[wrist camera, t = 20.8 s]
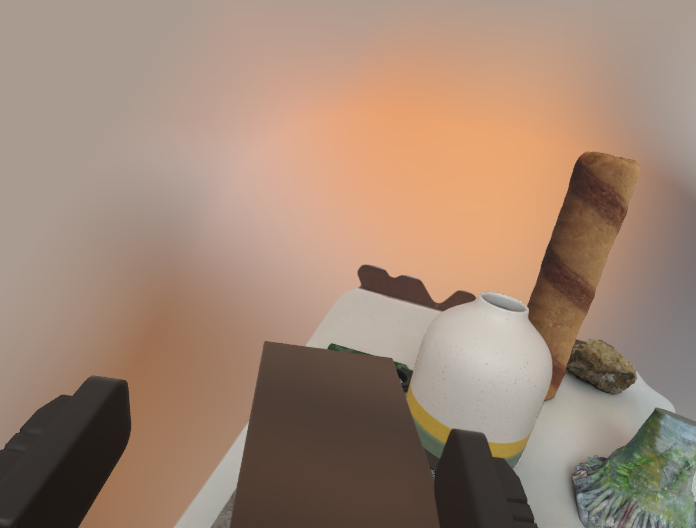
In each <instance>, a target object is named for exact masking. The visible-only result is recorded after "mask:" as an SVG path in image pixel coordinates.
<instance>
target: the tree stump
mask: <svg viewBox="0 0 696 528" xmlns="http://www.w3.org/2000/svg"><path fill="white" fill-rule="evenodd" d="M695 471H696V422H695V421H692V420H690V419H688V418H685V417H683V416H680V415H678V414H675V413H673V412H670V411H667V410H664V409H660V408H655V410H654V412H653V413H652V414H651V415H650V417H649V418H648V419H647V420H646V421H645V423H644V424H643V425H642V427H641V428H640V429H639V431H638V432H637V434H636V435H635V436H634V437H633V438H632V440H631V441H630V442H629V443H628V444H627V445H626V446H623V447H621V448H619V449H617V450H616V451H614V452H613V453H612V454H611V455H610V456H609V457H608V458H604V457H603V458H602V457H600V458H599V457H598V456H596V455H595V456H594V458H590V457H588V458H587V461H586V463H580V464H579V465H578V466H576V471H575V474H572V480H573V484H574V489H575V497H576V502H577V507H578V512H579V517H580V520H581V522H582V523H583V524H584V526H585V527H586V528H696V502H695V500H694V496H693V493H692V491H691V487H692V481H693V476H694V474H695Z"/></svg>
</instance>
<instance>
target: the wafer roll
mask: <svg viewBox="0 0 696 528" xmlns="http://www.w3.org/2000/svg"><path fill="white" fill-rule="evenodd" d="M639 173H640V165H639V164H638V163H637V162H636V161H635V160H631V159H625V158H621V157H615V156H612V155H608V154H604V153H599V152H585V153H584V154H582V155H581V156H580V157H579V158H578V160H577V162H576V164H575V166H574V169H573V173H572V176H571V179H570V183H569V188H568V191H567V194H566V197H565V199H564V203H563V206H562V208H561V211H560V213H559V216H558V219H557V222H556V225H555V227H554V230H553V233H552V237H551V240H550V242H549V244H548V247H547V249H546V253H545V256H544V258H543V261H542V264H541V269H540V272H539V276H538V278H537V282H536V285H535V288H534V290H533V292H532V294H531V297H530V301H529V303H528V305H527V307H528V309H529V313H528V319H529V321H530V322H531V324H532V325H533V326H534V327H535V329H536V330H537V331H538V332H539V333H540V335H541V336H542V338H543V339H544V341H545V342H546V344H547V346H548V348H549V350H550V354H551V358H552V378H551V383H550V386H549V389H548V392H547V395H546V397H545V400H549V399H551V398H553V397H554V396H555V394H556V392H557V390H558V388H559V385H560V383H561V381H562V379H563V377H564V375H565V373H566V366H567V363H568V361H569V358H570V355H571V351H572V348H573V346H574V343H575V340H576V336H577V334H578V331H579V329H580V327H581V325H582V322H583V320H584V319H585V317H586V315H587V313H588V310H589V307H590V305H591V302H592V301H593V299H594V296H595V291H596V287H597V285H598V283H599V281H600V278H601V275H602V271H603V268H604V266H605V264H606V261H607V258H608V254H609V252H610V249H611V247H612V245H613V243H614V240H615V238H616V236H617V234H618V232H619V230H620V228H621V225H622V222H623V220H624V218H625V216H626V214H627V209H628V204H629V201H630V199H631V197H632V194H633V192H634V188H635V184H636V181H637V179H638V176H639Z"/></svg>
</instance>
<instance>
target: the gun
mask: <svg viewBox="0 0 696 528" xmlns="http://www.w3.org/2000/svg"><path fill="white" fill-rule="evenodd" d="M327 350H335V351H342V352H349V353H357V354H364V355H370V354H367V353H363V352H360V351H356V350H353V349H349V348H346V347H343V346H339V345H336V344H332V343H331V345H329V347H328V349H327ZM371 356H374V355H371ZM393 362H394V361H393ZM394 364H395V367H396V370H397V373H398V376H399V378H401V379H402V380H403V383H401V385H402V388H403V391H404V392H408V389H409V385H410V381H411V378H412V374H413V371H412V370H409V369H408V367H407V366H406V365H405V364H401V363H398V362H394Z"/></svg>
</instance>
